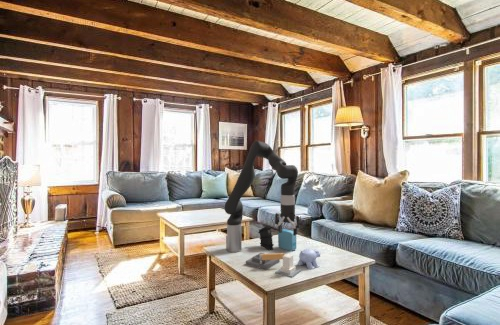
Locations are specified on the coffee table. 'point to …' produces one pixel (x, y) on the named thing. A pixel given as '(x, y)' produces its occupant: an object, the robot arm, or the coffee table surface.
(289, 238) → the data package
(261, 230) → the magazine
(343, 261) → the coffee table surface
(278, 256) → the orange rod with knob
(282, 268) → the plug
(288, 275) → the mat
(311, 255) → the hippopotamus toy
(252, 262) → the socket block
